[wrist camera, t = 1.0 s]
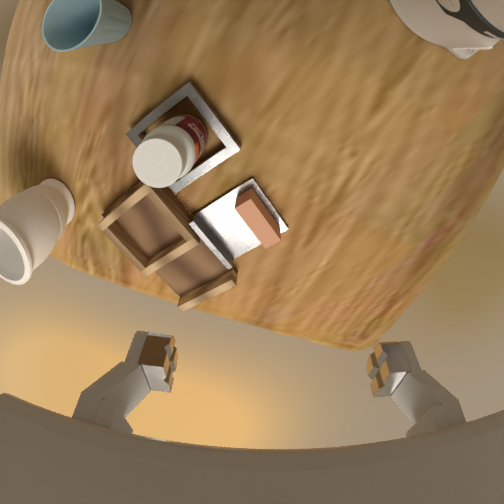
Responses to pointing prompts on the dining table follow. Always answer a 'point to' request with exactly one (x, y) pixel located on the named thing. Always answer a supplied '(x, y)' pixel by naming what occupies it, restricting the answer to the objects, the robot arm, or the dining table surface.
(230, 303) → the dining table surface
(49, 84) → the dining table surface
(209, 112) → the socket collar
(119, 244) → the rack
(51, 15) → the cup
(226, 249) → the grey metal lipped plate
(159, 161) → the pill bottle
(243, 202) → the pink rectangular block
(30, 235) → the jar
